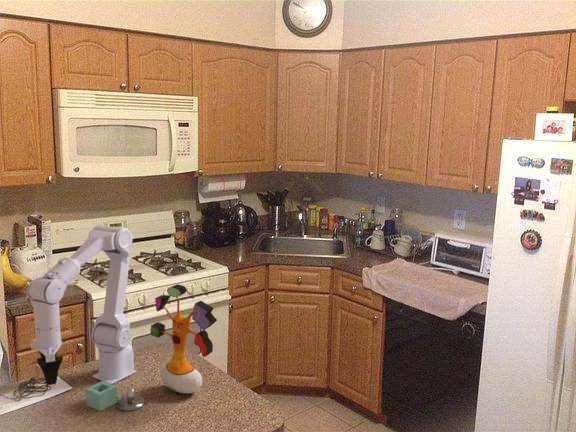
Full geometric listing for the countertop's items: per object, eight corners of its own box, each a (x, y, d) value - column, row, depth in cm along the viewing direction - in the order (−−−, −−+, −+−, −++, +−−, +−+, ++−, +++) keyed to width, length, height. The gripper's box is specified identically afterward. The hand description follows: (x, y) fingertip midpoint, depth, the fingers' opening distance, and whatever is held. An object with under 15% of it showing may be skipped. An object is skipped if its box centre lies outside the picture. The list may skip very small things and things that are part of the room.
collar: (103, 396, 148) (102, 380, 148) (117, 402, 146) (116, 386, 145) (86, 404, 144) (85, 388, 143) (100, 411, 141) (99, 394, 140)
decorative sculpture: (222, 393, 152) (222, 288, 147) (206, 406, 145) (206, 297, 139) (163, 377, 160) (161, 277, 155) (145, 389, 153) (143, 285, 148)
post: (131, 395, 150) (131, 379, 149) (150, 402, 146) (149, 387, 145) (111, 406, 144) (110, 390, 143) (129, 414, 140) (129, 397, 139)
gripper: (29, 318, 140) (32, 367, 143) (30, 339, 127) (33, 393, 130) (58, 314, 143) (61, 363, 146) (63, 334, 130) (66, 387, 133)
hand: (50, 377), depth 138 cm, fingers open, 7 cm apart
